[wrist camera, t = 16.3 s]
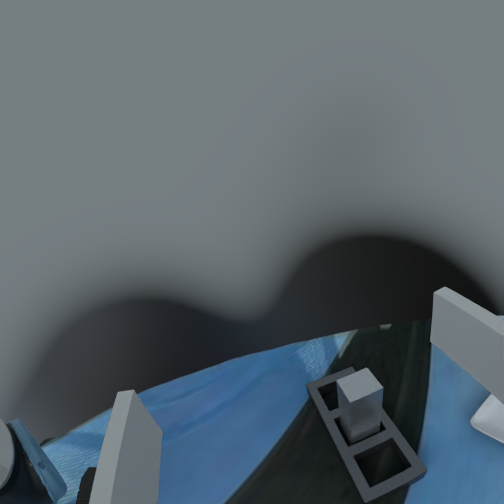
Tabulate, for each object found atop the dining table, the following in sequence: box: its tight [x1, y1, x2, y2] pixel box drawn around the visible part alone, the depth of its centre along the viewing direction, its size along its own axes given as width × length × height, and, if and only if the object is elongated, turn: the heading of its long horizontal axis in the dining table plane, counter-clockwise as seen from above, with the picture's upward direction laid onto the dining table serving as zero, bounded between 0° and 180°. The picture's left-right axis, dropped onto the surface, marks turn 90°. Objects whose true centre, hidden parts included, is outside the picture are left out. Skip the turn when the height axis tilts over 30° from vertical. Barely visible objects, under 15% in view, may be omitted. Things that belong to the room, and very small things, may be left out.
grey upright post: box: [336, 368, 383, 446], centre depth 34 cm, size 5×5×12 cm
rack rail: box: [306, 367, 427, 504], centre depth 35 cm, size 9×26×2 cm, turn 9°
